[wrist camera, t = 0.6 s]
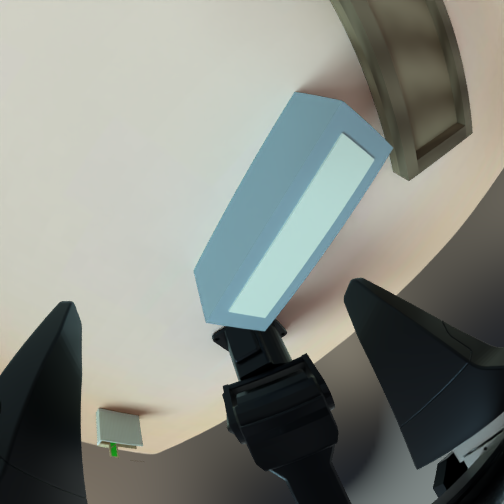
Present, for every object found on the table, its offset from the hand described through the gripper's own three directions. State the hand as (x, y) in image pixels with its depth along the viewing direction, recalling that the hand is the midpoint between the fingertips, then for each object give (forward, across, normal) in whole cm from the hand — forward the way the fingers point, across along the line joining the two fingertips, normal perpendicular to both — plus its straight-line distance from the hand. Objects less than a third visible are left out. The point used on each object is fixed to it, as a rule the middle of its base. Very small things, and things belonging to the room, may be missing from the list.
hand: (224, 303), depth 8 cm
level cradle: (+12, -17, -14) cm, 25 cm away
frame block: (+13, -6, +2) cm, 14 cm away
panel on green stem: (+14, +12, +37) cm, 41 cm away
